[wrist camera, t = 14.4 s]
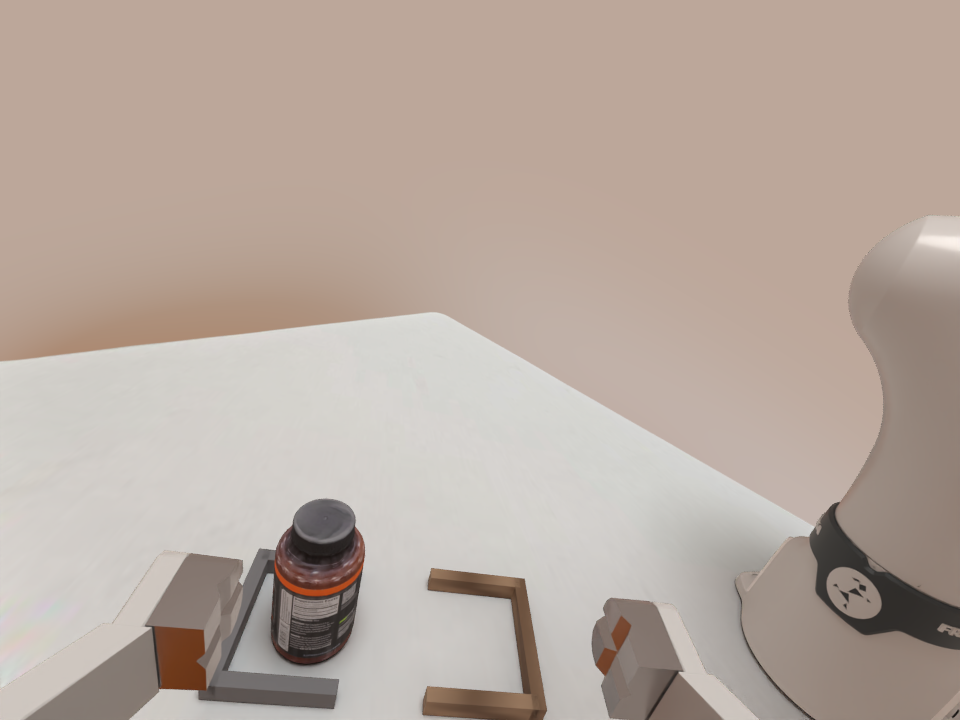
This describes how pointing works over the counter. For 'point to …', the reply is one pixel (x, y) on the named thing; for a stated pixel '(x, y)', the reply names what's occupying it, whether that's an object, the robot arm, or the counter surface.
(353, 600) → the supplement bottle
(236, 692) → the charcoal bay
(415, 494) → the counter surface
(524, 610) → the walnut bay
